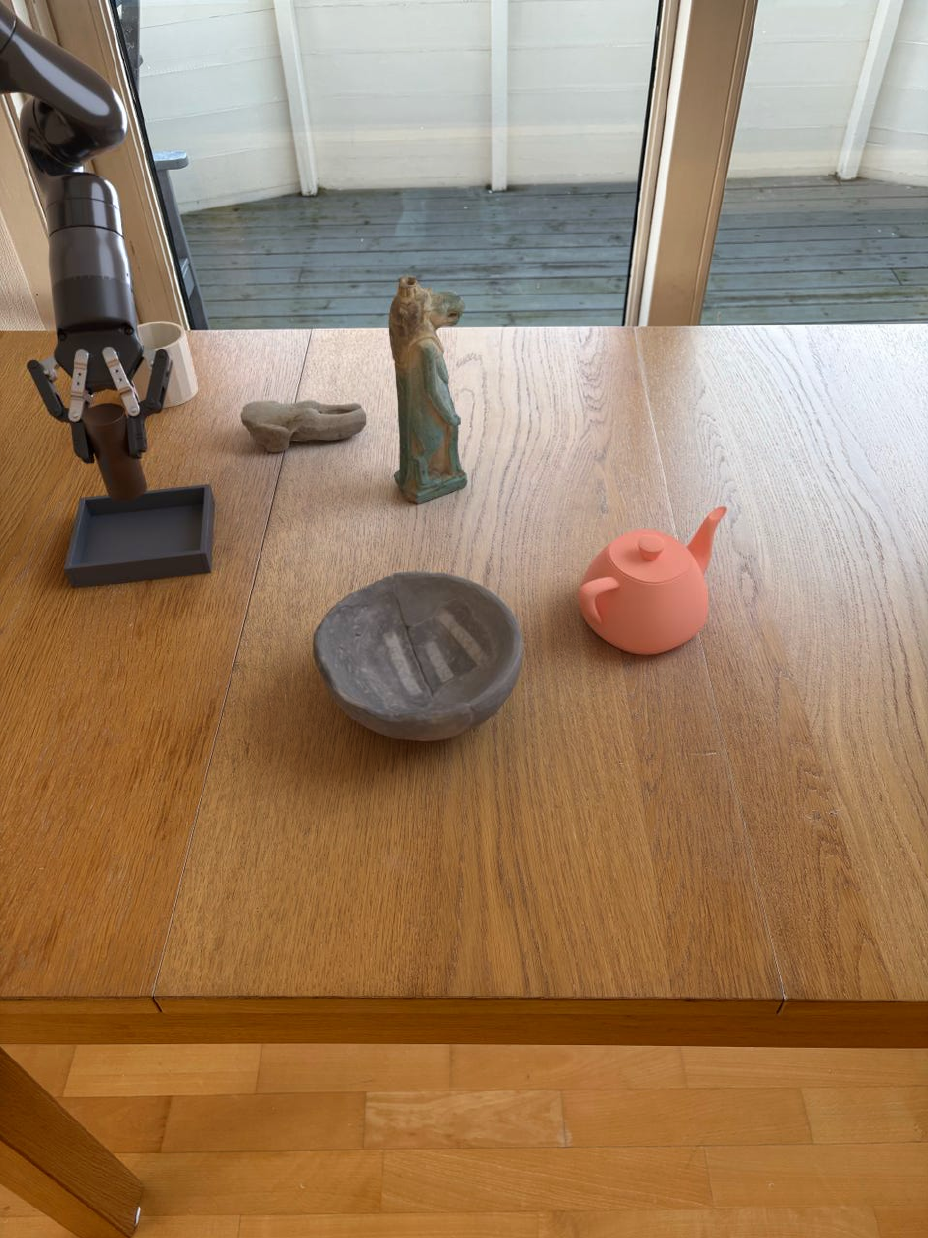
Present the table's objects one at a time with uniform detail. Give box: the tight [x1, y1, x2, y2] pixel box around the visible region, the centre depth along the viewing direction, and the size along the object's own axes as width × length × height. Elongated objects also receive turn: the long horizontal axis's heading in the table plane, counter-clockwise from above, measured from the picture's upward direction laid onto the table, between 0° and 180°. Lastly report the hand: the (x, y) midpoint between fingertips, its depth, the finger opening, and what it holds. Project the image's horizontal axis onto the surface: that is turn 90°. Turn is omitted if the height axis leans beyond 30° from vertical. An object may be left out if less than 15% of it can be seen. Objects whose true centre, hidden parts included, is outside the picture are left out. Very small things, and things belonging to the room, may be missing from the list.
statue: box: [388, 275, 468, 505], centre depth 101 cm, size 7×8×25 cm
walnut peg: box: [82, 402, 148, 501], centre depth 95 cm, size 4×4×9 cm
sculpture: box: [240, 399, 367, 453], centre depth 116 cm, size 7×5×15 cm
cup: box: [132, 320, 199, 409], centre depth 123 cm, size 8×8×8 cm
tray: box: [63, 483, 216, 589], centre depth 102 cm, size 14×12×3 cm
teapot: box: [577, 505, 728, 656], centre depth 90 cm, size 12×18×10 cm
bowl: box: [312, 570, 524, 742], centre depth 83 cm, size 18×18×8 cm
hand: (112, 458), depth 93 cm, fingers closed on walnut peg, 4 cm apart
